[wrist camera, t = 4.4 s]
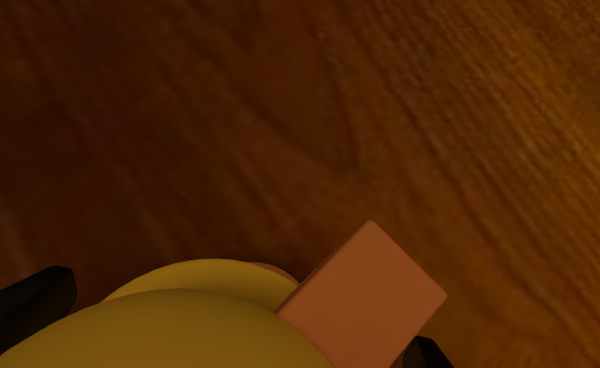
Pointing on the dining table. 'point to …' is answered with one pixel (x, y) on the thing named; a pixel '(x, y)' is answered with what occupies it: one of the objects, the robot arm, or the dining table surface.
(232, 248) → the dining table surface
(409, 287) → the duck toy
